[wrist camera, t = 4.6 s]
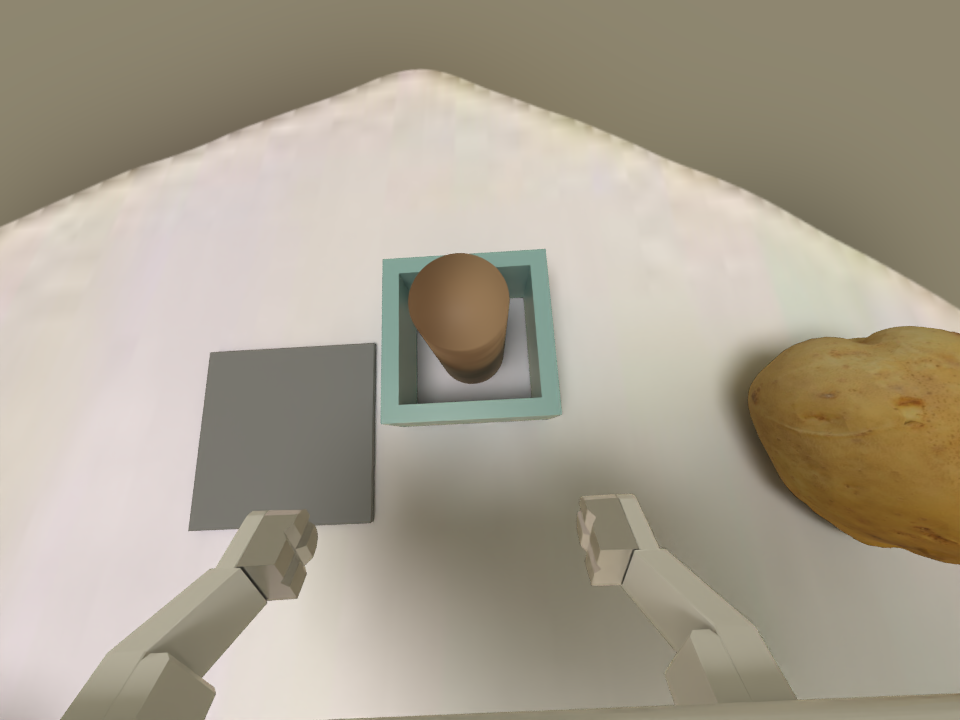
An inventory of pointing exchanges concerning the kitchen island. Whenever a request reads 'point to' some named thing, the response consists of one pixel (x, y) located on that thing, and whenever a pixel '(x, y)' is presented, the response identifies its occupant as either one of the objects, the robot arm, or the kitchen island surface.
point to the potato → (870, 434)
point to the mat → (287, 436)
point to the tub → (400, 347)
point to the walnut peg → (462, 314)
